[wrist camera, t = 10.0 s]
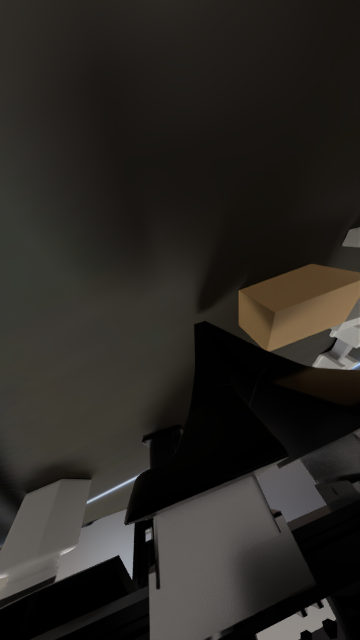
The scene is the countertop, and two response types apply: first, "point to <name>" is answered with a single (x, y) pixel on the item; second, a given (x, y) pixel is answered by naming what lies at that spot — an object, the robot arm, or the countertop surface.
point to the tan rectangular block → (297, 304)
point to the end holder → (356, 316)
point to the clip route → (340, 350)
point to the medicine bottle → (42, 536)
